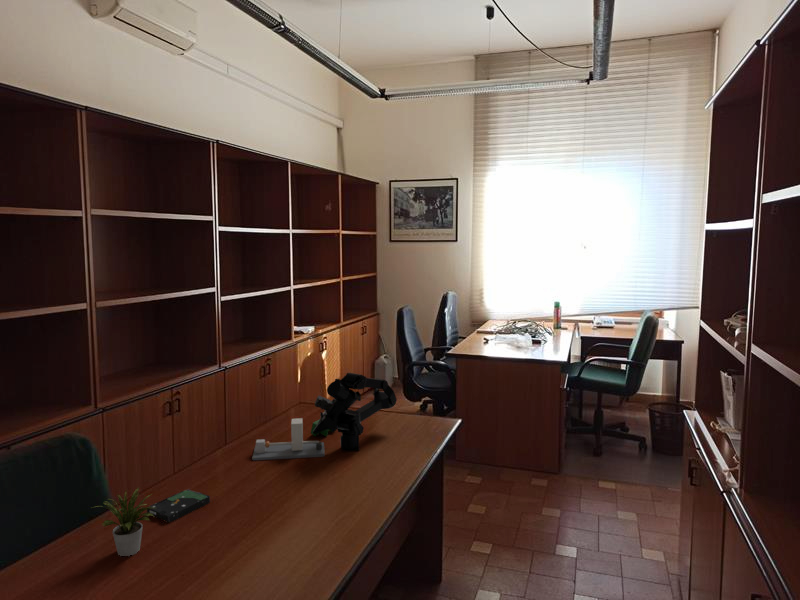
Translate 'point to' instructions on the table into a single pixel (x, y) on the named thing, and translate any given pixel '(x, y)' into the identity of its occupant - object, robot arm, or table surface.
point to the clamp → (319, 432)
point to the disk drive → (178, 505)
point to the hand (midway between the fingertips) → (313, 433)
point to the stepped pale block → (297, 434)
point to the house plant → (128, 524)
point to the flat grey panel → (287, 450)
